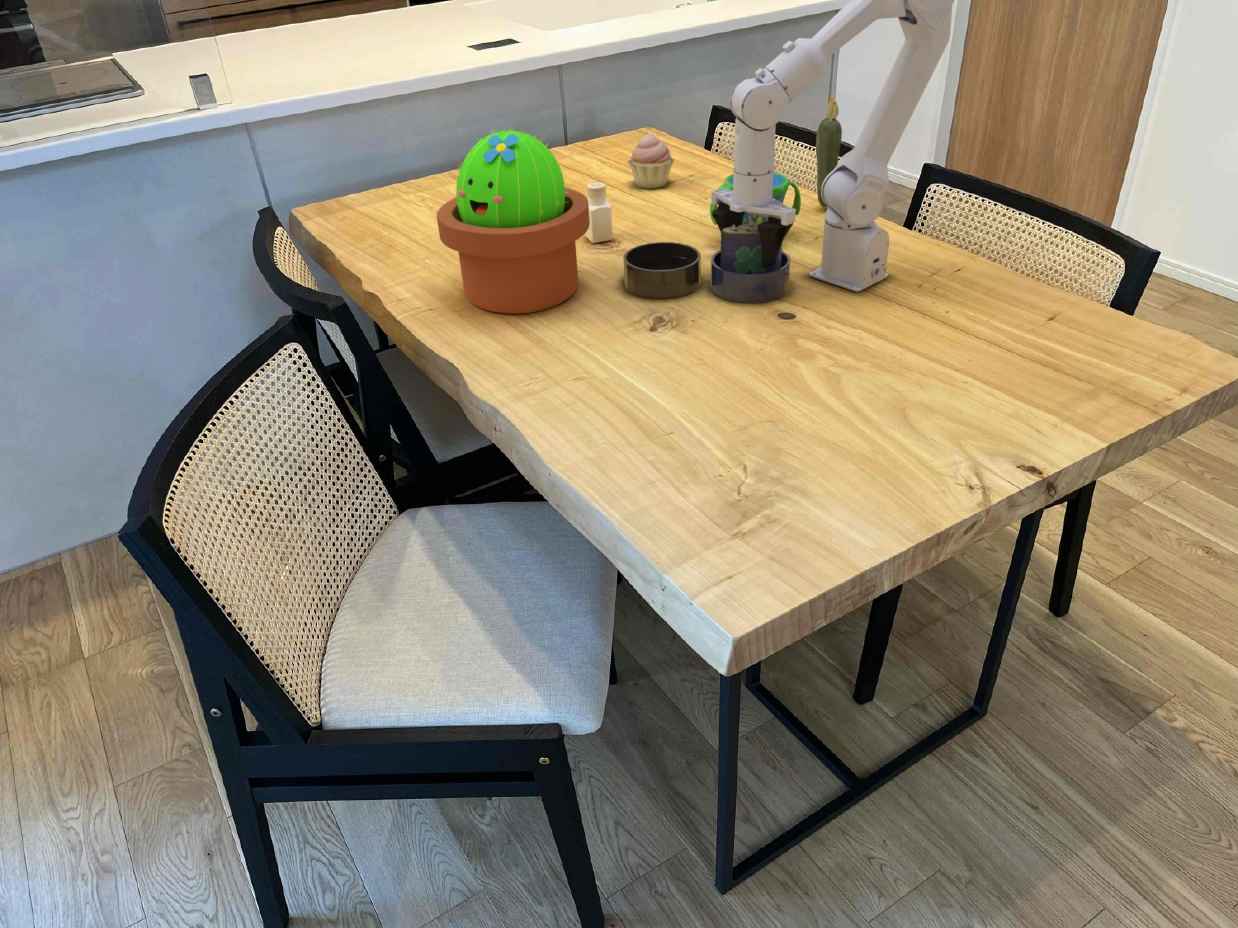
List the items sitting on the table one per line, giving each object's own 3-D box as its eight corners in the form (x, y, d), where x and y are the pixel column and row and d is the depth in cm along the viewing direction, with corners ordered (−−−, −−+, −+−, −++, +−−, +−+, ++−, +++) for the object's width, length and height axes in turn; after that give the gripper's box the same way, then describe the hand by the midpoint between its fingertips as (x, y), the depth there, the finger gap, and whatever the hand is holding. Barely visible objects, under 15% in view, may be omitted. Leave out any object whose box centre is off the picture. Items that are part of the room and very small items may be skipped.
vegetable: (835, 214, 168) (845, 98, 157) (810, 213, 169) (819, 98, 158) (835, 206, 172) (845, 92, 161) (811, 205, 173) (819, 92, 162)
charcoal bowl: (716, 282, 146) (716, 254, 143) (661, 306, 139) (660, 278, 137) (663, 262, 153) (662, 236, 151) (608, 284, 147) (607, 257, 144)
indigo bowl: (804, 286, 143) (806, 258, 141) (752, 310, 137) (754, 281, 134) (746, 265, 151) (747, 239, 148) (694, 288, 144) (694, 260, 142)
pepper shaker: (614, 240, 162) (611, 186, 157) (592, 244, 161) (589, 190, 156) (605, 233, 165) (602, 180, 160) (584, 237, 164) (581, 183, 159)
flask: (779, 280, 144) (783, 213, 138) (781, 288, 142) (785, 221, 136) (719, 282, 145) (720, 215, 139) (720, 290, 142) (721, 222, 136)
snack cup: (789, 224, 165) (793, 166, 160) (807, 245, 157) (812, 185, 151) (703, 231, 164) (703, 174, 158) (716, 253, 155) (717, 193, 150)
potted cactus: (507, 256, 159) (489, 103, 144) (618, 277, 149) (610, 115, 135) (422, 305, 143) (393, 139, 129) (539, 333, 133) (521, 157, 119)
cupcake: (683, 180, 188) (682, 129, 183) (660, 194, 182) (659, 142, 176) (643, 174, 193) (642, 125, 187) (619, 188, 186) (617, 136, 181)
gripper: (697, 166, 136) (697, 255, 144) (774, 187, 127) (769, 280, 134) (730, 155, 140) (728, 242, 147) (807, 174, 131) (800, 266, 138)
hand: (750, 259), depth 141 cm, fingers closed on flask, 7 cm apart
